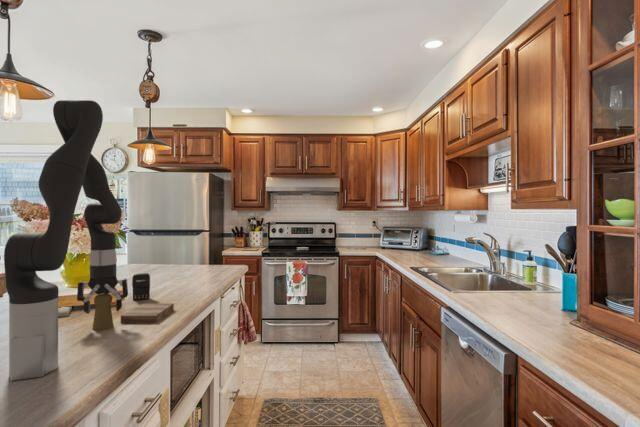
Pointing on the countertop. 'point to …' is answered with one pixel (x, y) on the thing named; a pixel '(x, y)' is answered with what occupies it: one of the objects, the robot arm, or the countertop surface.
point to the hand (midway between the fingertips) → (103, 311)
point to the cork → (103, 312)
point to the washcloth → (64, 311)
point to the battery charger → (141, 286)
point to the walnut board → (147, 313)
